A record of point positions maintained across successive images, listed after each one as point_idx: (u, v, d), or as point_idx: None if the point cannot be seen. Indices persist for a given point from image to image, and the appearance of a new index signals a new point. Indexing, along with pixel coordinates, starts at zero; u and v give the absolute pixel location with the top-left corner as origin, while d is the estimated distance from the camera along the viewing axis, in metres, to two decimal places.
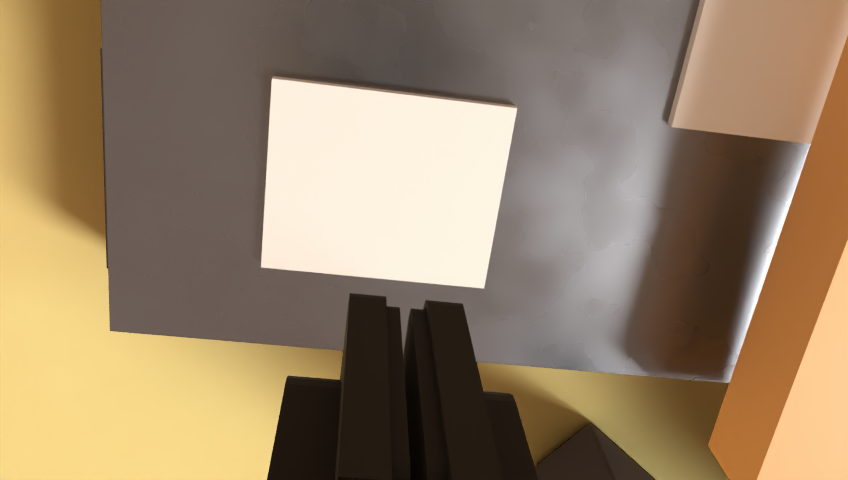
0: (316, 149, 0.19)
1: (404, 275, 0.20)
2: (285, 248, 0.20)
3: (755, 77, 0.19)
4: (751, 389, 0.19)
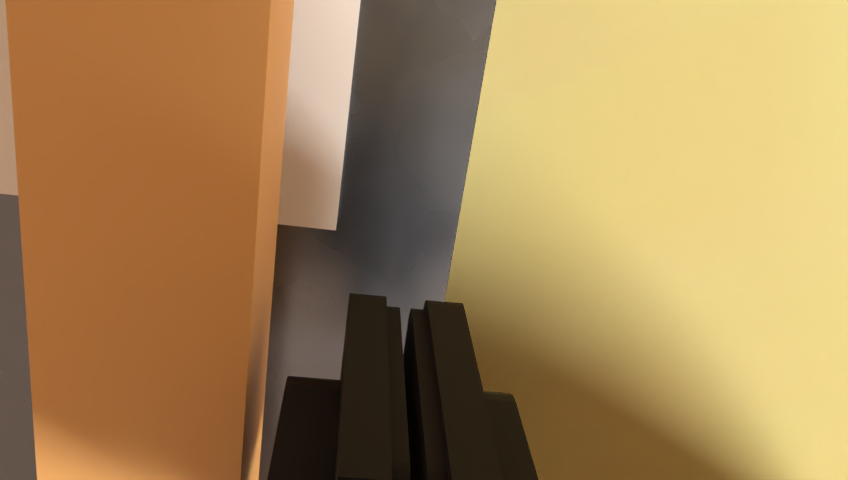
0: None
1: None
2: None
3: None
4: None
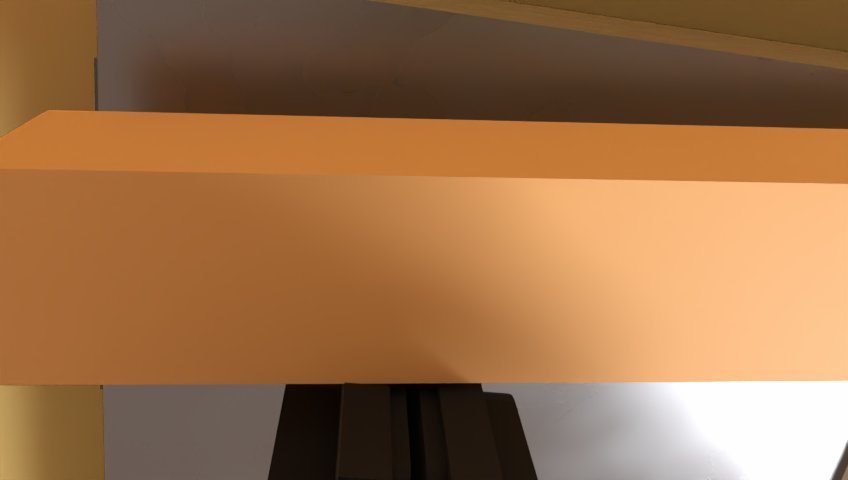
0: None
1: None
2: None
3: None
4: (250, 135, 0.09)
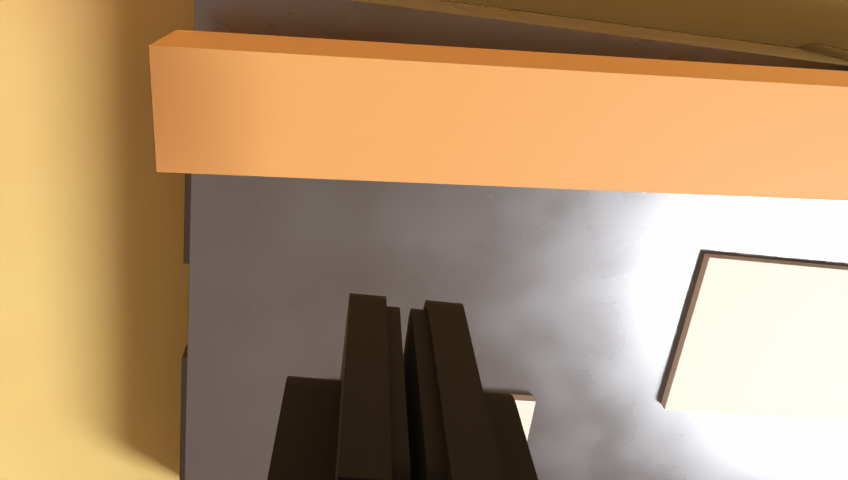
0: None
1: None
2: None
3: (734, 371, 0.22)
4: (298, 43, 0.15)
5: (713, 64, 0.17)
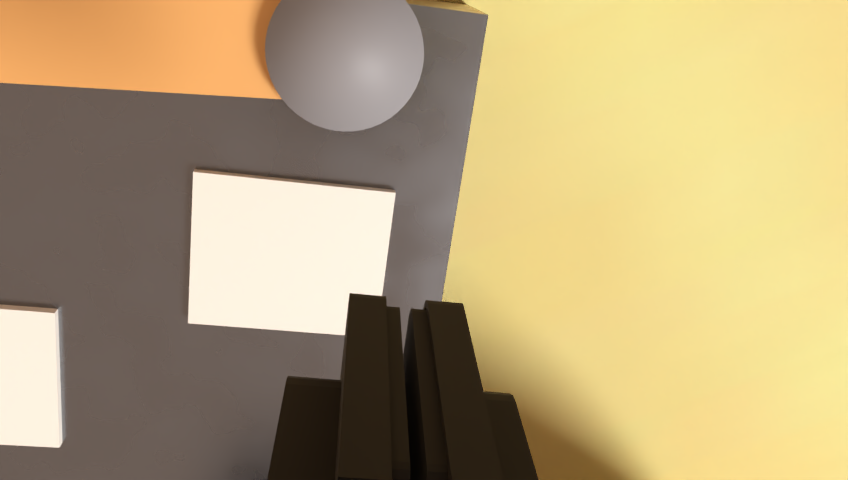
0: None
1: None
2: None
3: (248, 286, 0.24)
4: None
5: None
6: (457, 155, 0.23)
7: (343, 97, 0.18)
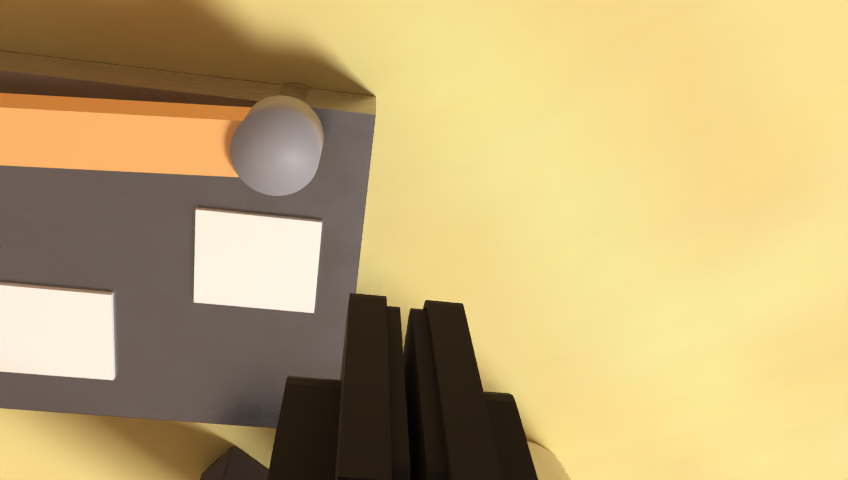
0: (11, 315, 0.38)
1: (69, 374, 0.39)
2: (3, 361, 0.39)
3: (231, 279, 0.38)
4: None
5: (134, 102, 0.32)
6: (361, 199, 0.37)
7: (275, 177, 0.31)
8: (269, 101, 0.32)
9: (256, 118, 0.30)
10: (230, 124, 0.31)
